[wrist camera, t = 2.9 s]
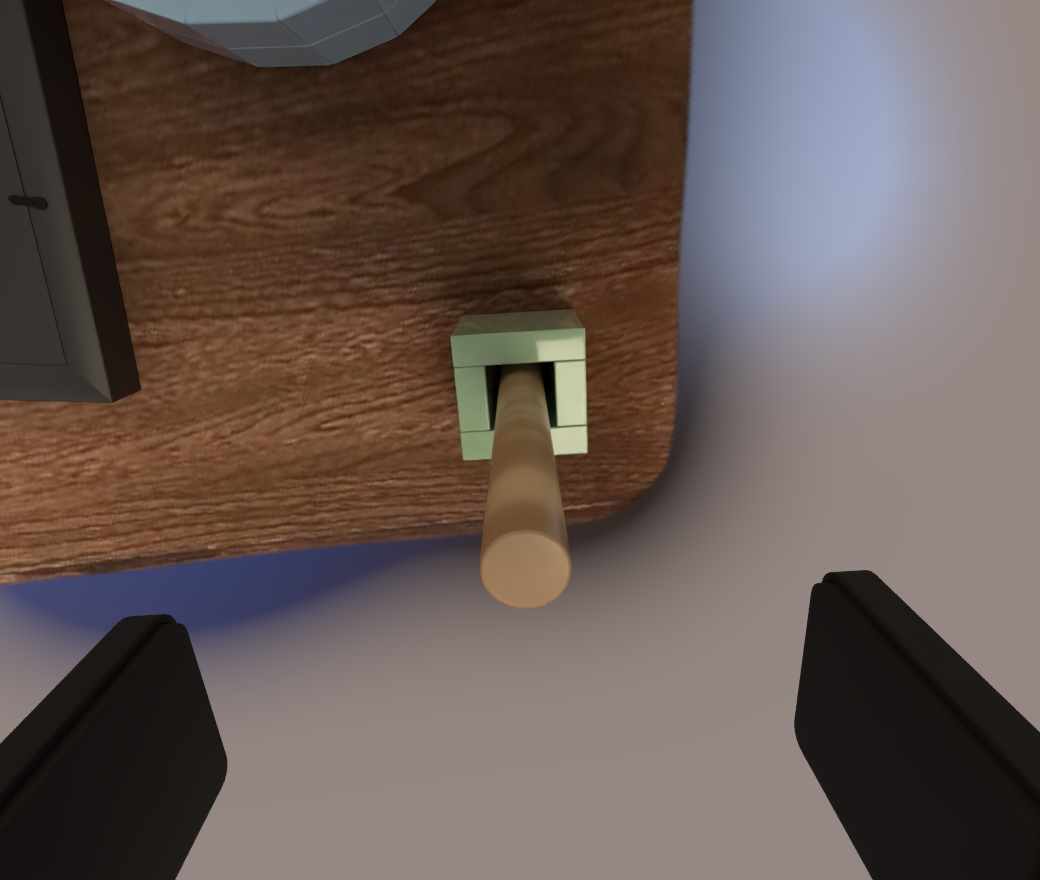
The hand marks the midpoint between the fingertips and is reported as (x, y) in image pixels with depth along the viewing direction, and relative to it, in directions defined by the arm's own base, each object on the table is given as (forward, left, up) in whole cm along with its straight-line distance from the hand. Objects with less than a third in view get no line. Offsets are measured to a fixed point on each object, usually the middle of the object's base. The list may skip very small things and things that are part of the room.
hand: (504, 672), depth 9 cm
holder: (0, 0, -20) cm, 20 cm away
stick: (0, 0, -20) cm, 20 cm away
